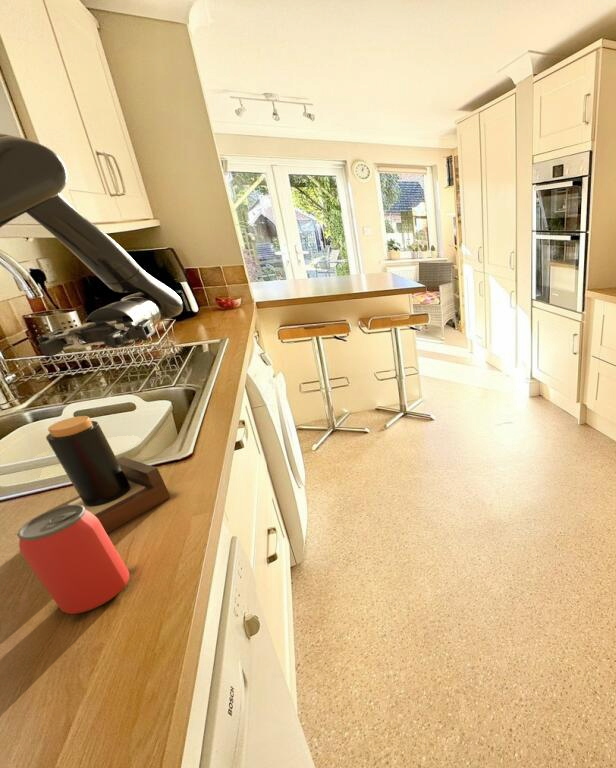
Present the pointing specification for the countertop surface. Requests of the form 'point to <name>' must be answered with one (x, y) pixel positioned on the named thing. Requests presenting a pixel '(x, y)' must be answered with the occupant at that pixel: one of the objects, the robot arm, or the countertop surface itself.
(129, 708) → the countertop surface
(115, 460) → the black canister
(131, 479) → the brown wooden stand
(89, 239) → the robot arm
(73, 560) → the beer can
